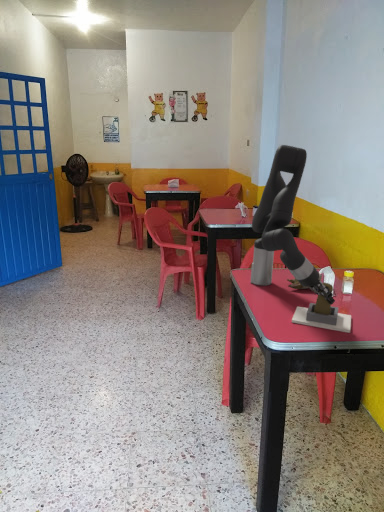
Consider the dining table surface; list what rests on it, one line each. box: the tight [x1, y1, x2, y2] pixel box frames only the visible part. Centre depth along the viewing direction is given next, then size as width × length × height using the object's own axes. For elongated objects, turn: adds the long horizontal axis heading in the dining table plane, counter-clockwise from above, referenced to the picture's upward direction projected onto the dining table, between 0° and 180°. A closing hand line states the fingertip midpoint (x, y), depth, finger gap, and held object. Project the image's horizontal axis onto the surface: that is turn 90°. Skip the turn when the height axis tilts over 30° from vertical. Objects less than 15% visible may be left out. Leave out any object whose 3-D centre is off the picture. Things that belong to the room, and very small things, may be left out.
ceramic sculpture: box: [286, 273, 323, 290], centre depth 179 cm, size 11×9×15 cm
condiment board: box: [291, 302, 352, 334], centre depth 147 cm, size 20×14×4 cm
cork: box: [314, 282, 334, 315], centre depth 145 cm, size 6×6×11 cm
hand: (328, 299), depth 146 cm, fingers closed on cork, 4 cm apart
